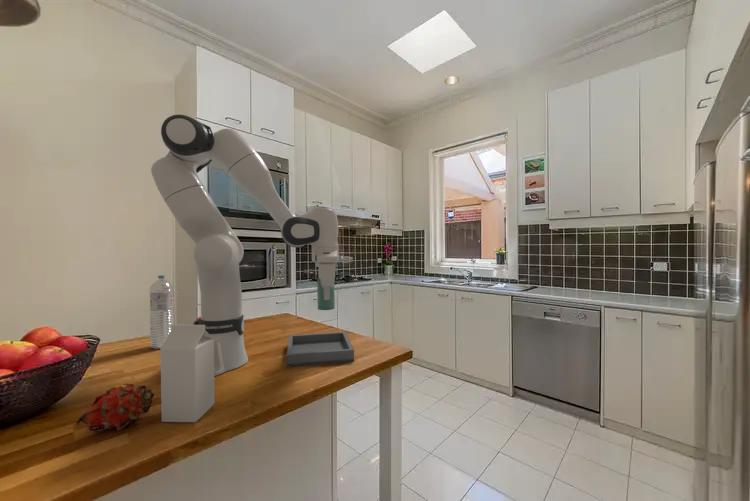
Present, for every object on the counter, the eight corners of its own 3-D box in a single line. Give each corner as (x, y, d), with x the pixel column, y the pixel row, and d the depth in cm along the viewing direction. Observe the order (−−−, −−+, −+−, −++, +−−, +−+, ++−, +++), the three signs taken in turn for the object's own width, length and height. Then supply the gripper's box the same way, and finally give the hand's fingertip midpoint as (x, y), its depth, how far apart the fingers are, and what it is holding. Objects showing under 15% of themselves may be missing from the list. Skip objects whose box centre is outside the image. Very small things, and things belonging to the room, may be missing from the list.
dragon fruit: (160, 420, 66) (85, 457, 57) (148, 388, 70) (75, 418, 61) (161, 399, 62) (79, 434, 53) (147, 366, 66) (69, 394, 57)
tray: (286, 367, 91) (286, 355, 91) (289, 345, 110) (289, 335, 110) (354, 361, 95) (354, 349, 95) (345, 341, 115) (345, 331, 115)
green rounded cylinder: (318, 310, 100) (317, 279, 99) (317, 307, 105) (316, 277, 105) (335, 309, 101) (335, 279, 101) (333, 306, 106) (333, 277, 106)
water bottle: (157, 343, 112) (156, 274, 111) (177, 342, 113) (176, 274, 112) (146, 350, 105) (144, 276, 105) (167, 349, 106) (166, 276, 105)
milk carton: (195, 423, 62) (194, 329, 62) (161, 422, 63) (159, 329, 62) (214, 404, 70) (213, 320, 69) (183, 404, 70) (182, 320, 69)
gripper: (314, 255, 112) (314, 293, 112) (317, 257, 92) (317, 303, 92) (331, 254, 113) (332, 292, 114) (338, 257, 94) (338, 302, 94)
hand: (325, 297), depth 103 cm, fingers closed on green rounded cylinder, 6 cm apart
